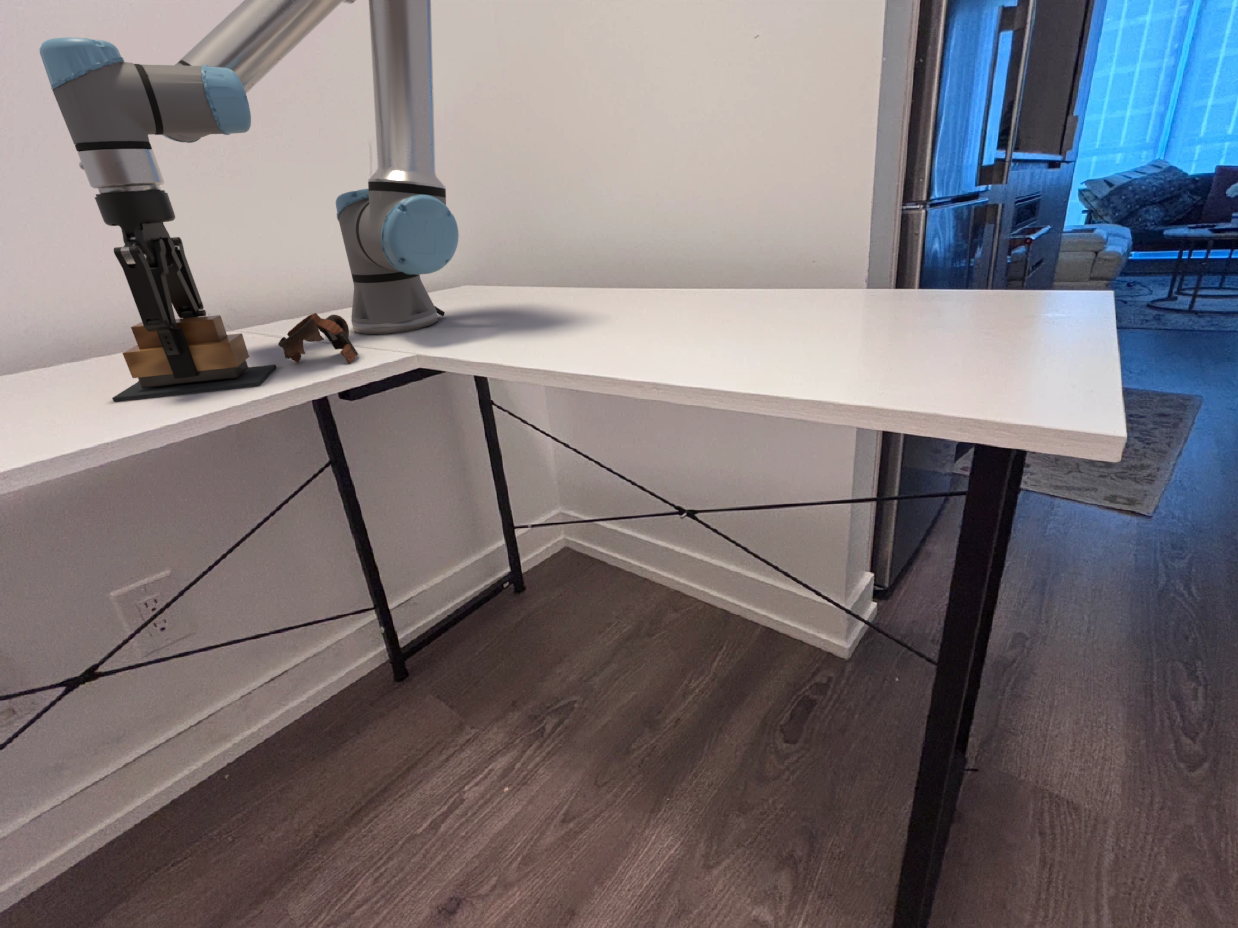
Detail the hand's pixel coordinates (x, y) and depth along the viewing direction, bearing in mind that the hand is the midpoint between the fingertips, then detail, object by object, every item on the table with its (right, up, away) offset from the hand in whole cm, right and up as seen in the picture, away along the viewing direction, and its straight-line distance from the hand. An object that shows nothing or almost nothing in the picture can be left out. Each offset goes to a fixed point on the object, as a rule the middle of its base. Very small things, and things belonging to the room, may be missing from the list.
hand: (195, 369), depth 87 cm
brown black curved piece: (+14, +3, +9) cm, 17 cm away
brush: (0, -1, 0) cm, 1 cm away
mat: (0, -2, +1) cm, 2 cm away
